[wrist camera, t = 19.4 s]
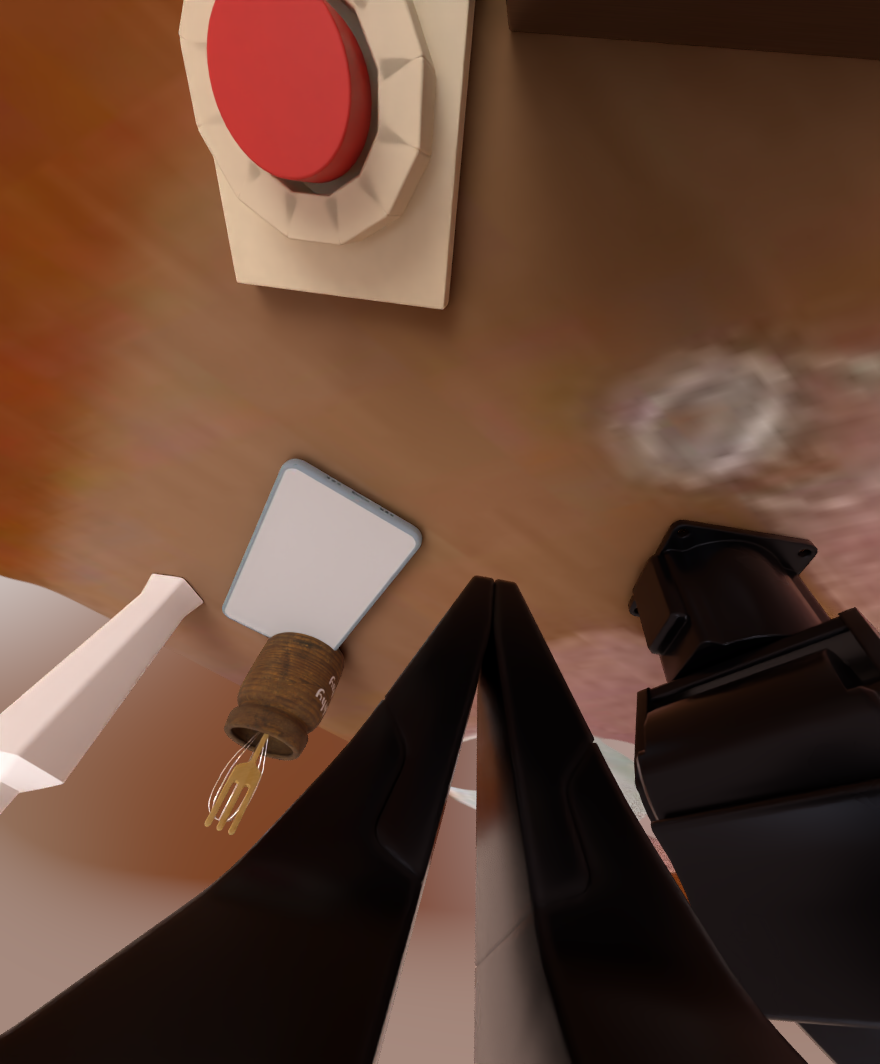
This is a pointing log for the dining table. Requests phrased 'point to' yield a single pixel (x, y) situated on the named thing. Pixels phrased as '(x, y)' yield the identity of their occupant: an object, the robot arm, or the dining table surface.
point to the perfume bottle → (86, 689)
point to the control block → (357, 164)
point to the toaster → (714, 23)
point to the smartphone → (317, 558)
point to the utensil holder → (277, 710)
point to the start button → (290, 85)
